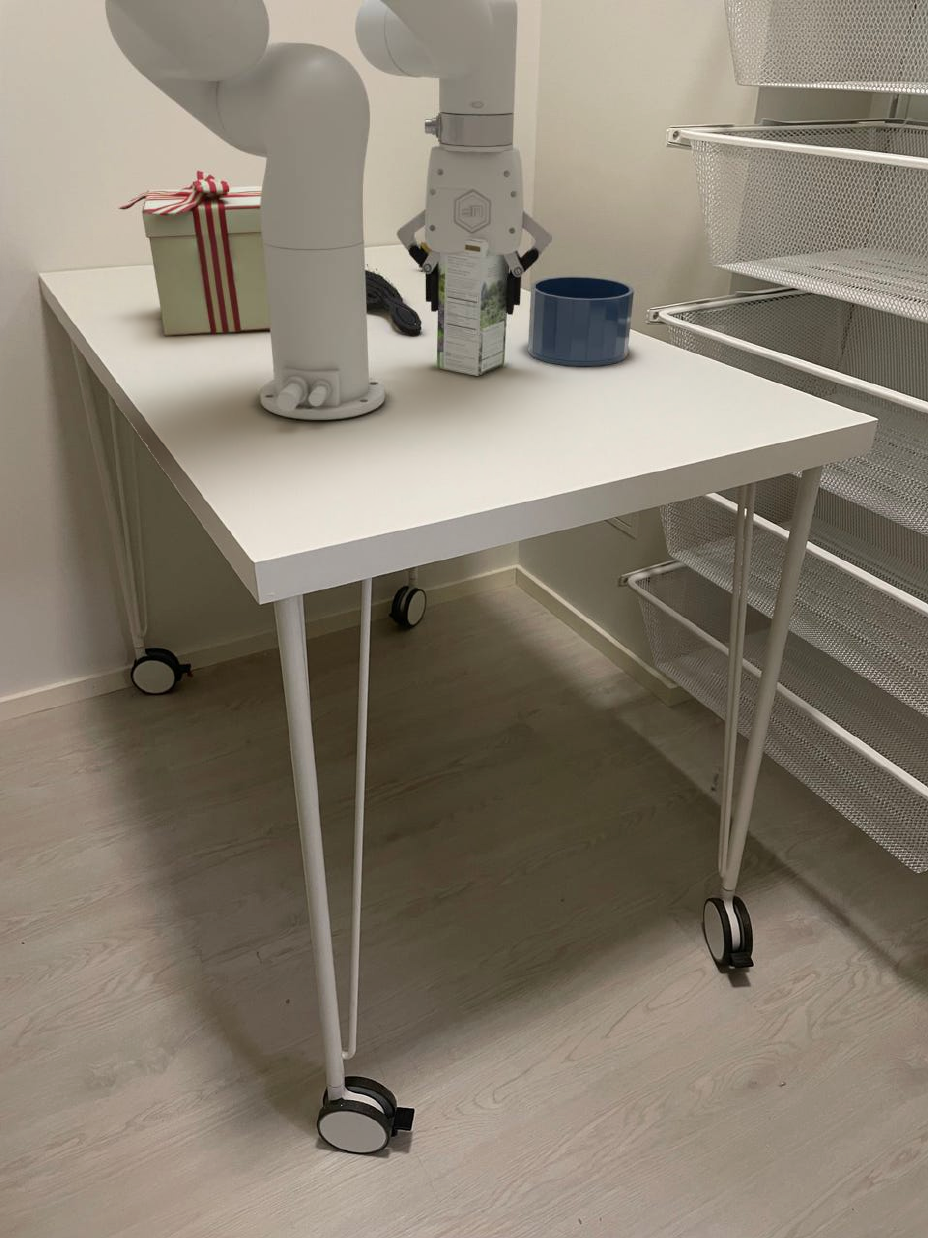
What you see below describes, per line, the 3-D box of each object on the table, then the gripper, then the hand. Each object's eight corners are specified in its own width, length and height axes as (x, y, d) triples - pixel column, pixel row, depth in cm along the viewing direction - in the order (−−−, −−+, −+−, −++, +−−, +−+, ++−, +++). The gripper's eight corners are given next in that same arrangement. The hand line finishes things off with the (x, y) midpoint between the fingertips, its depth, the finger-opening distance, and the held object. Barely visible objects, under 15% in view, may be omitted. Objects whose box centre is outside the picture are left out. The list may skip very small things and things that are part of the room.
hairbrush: (382, 315, 119) (328, 264, 138) (383, 345, 121) (329, 290, 140) (446, 310, 122) (384, 260, 141) (445, 339, 124) (384, 286, 143)
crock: (629, 368, 112) (636, 301, 108) (525, 363, 112) (529, 297, 109) (624, 340, 122) (631, 278, 118) (530, 336, 123) (533, 274, 119)
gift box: (134, 310, 131) (112, 169, 122) (272, 301, 136) (261, 166, 127) (140, 344, 117) (115, 188, 108) (293, 333, 122) (282, 183, 113)
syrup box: (463, 356, 115) (465, 225, 107) (506, 365, 112) (511, 231, 104) (436, 368, 110) (436, 232, 103) (479, 377, 108) (483, 239, 100)
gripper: (384, 134, 96) (389, 315, 105) (561, 138, 95) (551, 322, 104) (396, 127, 103) (400, 299, 112) (562, 131, 101) (552, 305, 110)
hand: (473, 309), depth 108 cm, fingers closed on syrup box, 7 cm apart
